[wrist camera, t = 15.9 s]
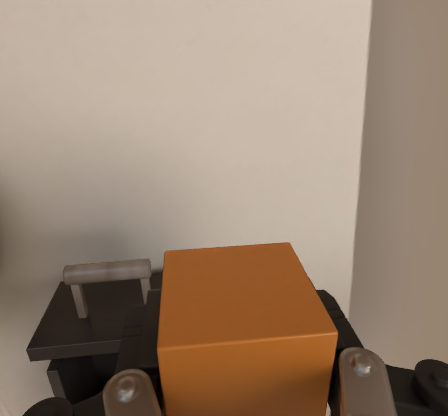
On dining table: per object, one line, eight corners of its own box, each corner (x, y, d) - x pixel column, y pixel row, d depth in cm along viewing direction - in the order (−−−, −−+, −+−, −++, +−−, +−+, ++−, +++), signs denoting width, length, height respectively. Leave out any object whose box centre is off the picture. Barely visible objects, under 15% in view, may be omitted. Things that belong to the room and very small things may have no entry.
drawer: (48, 236, 30) (6, 297, 23) (185, 226, 31) (186, 281, 24) (87, 380, 37) (65, 460, 30) (198, 368, 38) (201, 442, 31)
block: (290, 241, 13) (339, 332, 9) (283, 335, 15) (321, 446, 11) (164, 249, 13) (156, 349, 9) (173, 345, 15) (170, 464, 11)
